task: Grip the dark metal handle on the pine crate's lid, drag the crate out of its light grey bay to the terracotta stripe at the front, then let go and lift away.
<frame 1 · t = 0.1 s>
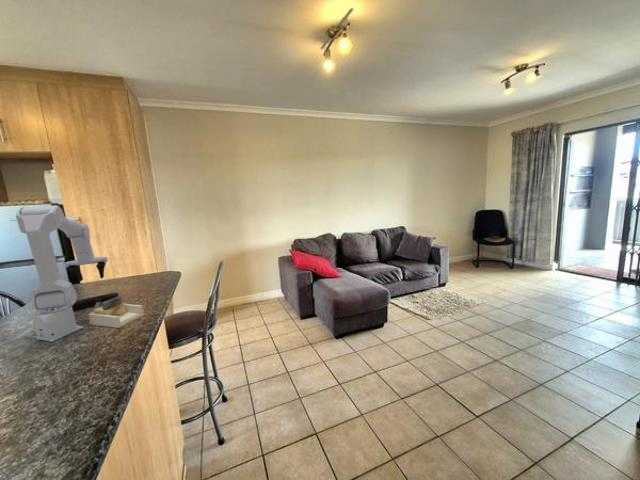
hand: (91, 278, 120), 11 cm above the countertop, fingers open, 7 cm apart
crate: (109, 307, 101), point 5 cm above the countertop, slide at 0.0 cm
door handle: (89, 309, 115), on the countertop
bay: (117, 319, 101), on the countertop
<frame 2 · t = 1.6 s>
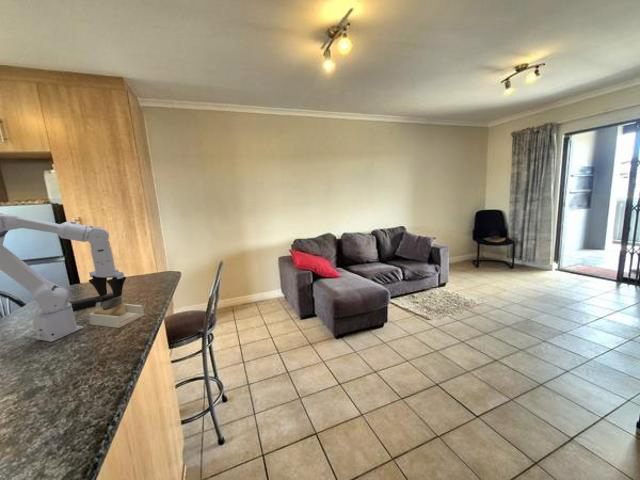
hand: (110, 296, 100), 9 cm above the countertop, fingers open, 7 cm apart
nothing on the countertop moved.
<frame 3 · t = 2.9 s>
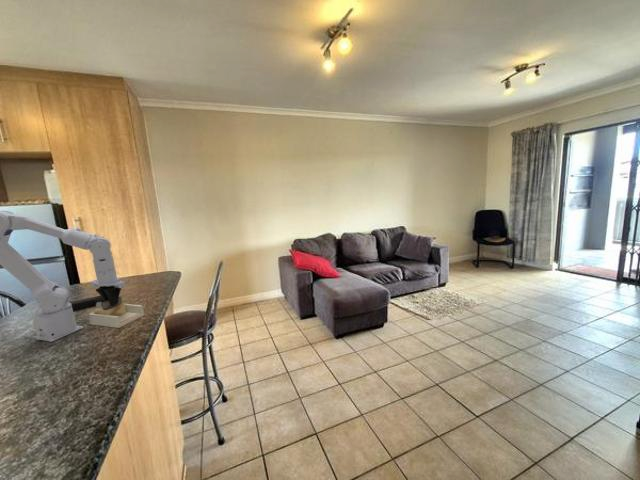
hand: (112, 304, 101), 6 cm above the countertop, fingers closed on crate, 2 cm apart
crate: (109, 307, 101), point 5 cm above the countertop, slide at 0.0 cm, touching gripper
everything else where it was.
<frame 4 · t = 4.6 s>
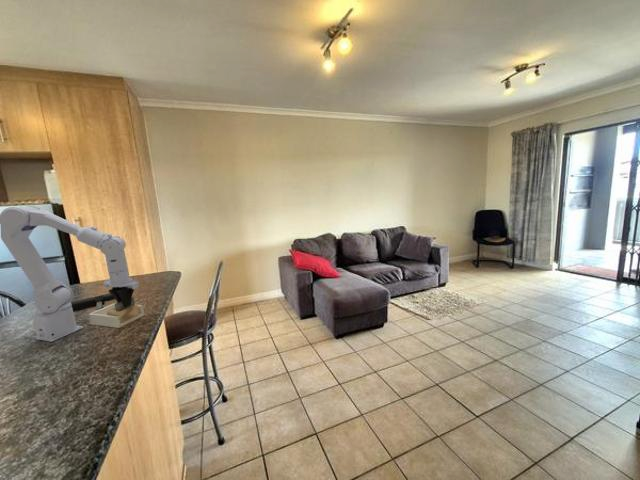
hand: (125, 305, 99), 6 cm above the countertop, fingers closed on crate, 2 cm apart
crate: (122, 309, 99), point 5 cm above the countertop, slide at 6.4 cm, touching gripper
everything else where it was.
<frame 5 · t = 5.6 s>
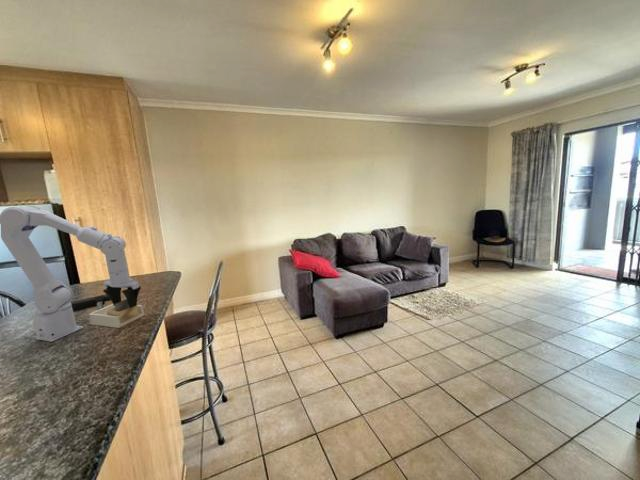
hand: (125, 305, 99), 6 cm above the countertop, fingers open, 7 cm apart
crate: (122, 309, 99), point 5 cm above the countertop, slide at 6.5 cm
everything else where it was.
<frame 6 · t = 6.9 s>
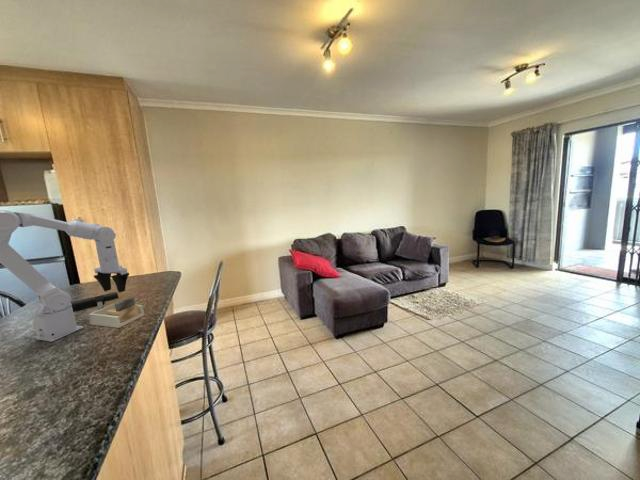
hand: (114, 291, 105), 9 cm above the countertop, fingers open, 7 cm apart
nothing on the countertop moved.
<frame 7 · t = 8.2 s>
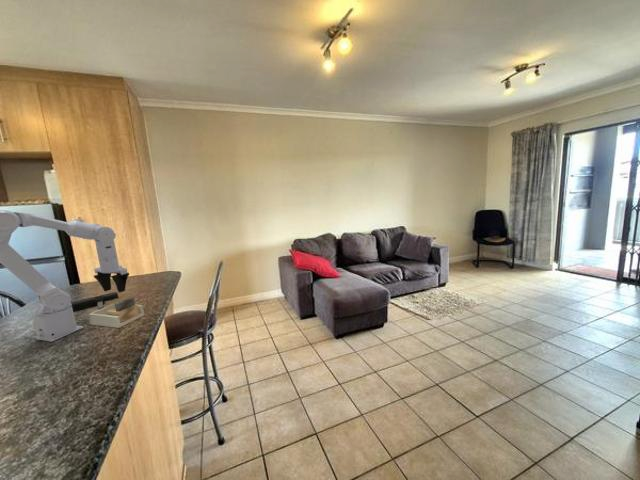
hand: (114, 291, 105), 9 cm above the countertop, fingers open, 7 cm apart
nothing on the countertop moved.
at the end: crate slide at 6.5 cm; the gripper is holding nothing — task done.
